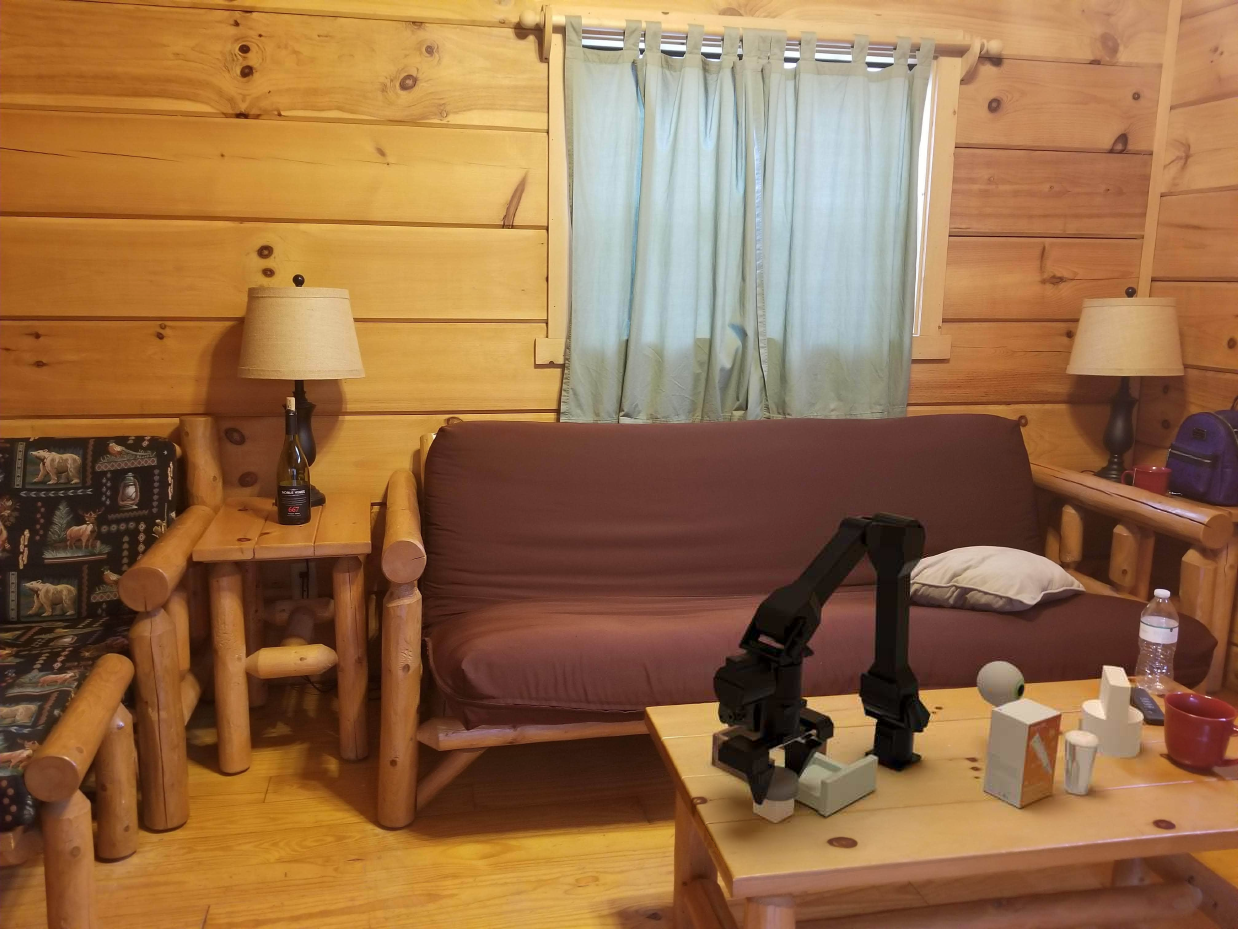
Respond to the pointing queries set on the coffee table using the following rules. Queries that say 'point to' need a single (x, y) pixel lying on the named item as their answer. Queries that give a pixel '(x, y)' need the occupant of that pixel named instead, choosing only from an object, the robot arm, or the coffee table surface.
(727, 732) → the holder
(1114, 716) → the base with upright slab
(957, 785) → the coffee table surface
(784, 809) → the block
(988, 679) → the eyeball
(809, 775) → the tray
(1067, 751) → the milkshake
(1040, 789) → the small box
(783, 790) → the cylinder
